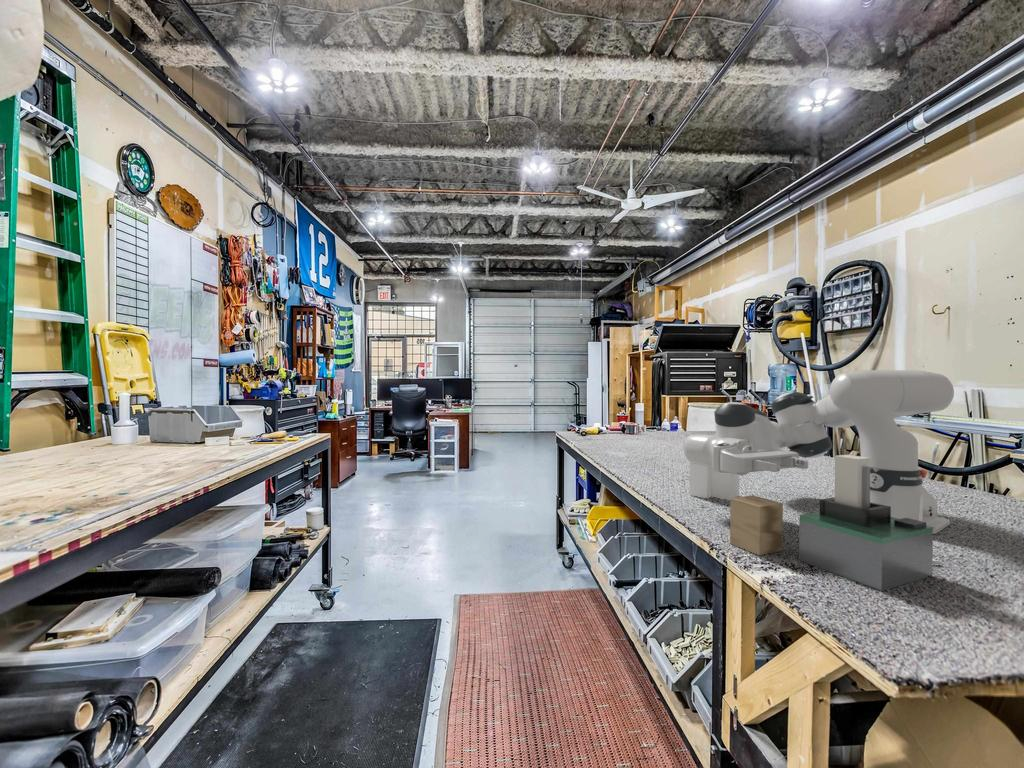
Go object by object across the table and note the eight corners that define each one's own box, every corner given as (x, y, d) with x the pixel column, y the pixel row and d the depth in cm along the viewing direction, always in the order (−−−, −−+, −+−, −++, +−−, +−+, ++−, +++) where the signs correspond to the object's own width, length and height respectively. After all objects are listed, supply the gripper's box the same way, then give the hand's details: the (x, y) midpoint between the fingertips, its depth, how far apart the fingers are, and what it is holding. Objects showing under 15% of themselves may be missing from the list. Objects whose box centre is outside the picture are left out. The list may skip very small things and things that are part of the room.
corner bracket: (689, 495, 136) (690, 457, 136) (705, 489, 143) (705, 453, 143) (725, 502, 128) (725, 462, 128) (739, 496, 135) (739, 458, 135)
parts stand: (752, 539, 97) (752, 495, 97) (782, 550, 91) (782, 503, 91) (730, 543, 95) (730, 498, 95) (759, 555, 88) (759, 506, 88)
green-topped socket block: (848, 548, 92) (848, 492, 92) (932, 575, 80) (932, 510, 79) (799, 559, 86) (799, 500, 86) (881, 591, 73) (882, 520, 73)
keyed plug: (846, 513, 87) (847, 454, 87) (874, 520, 83) (874, 458, 83) (834, 515, 86) (835, 455, 86) (861, 523, 81) (862, 459, 81)
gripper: (766, 466, 112) (822, 476, 100) (708, 471, 104) (760, 484, 92) (766, 441, 112) (822, 449, 100) (708, 446, 104) (761, 455, 92)
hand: (792, 466), depth 96 cm, fingers open, 8 cm apart
